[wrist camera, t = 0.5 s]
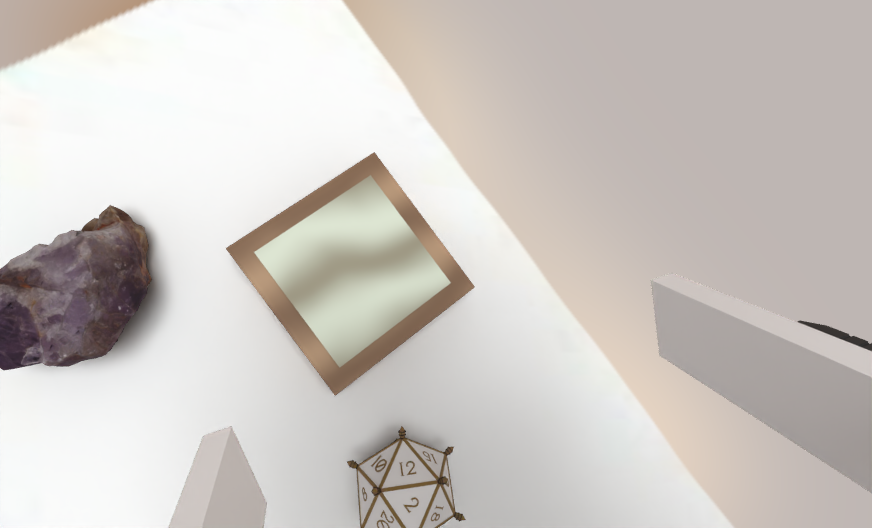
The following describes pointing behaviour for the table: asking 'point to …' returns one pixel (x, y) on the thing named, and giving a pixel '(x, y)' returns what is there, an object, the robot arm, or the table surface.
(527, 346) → the table surface
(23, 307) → the rock
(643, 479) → the table surface
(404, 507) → the game die
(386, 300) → the framed mirror
